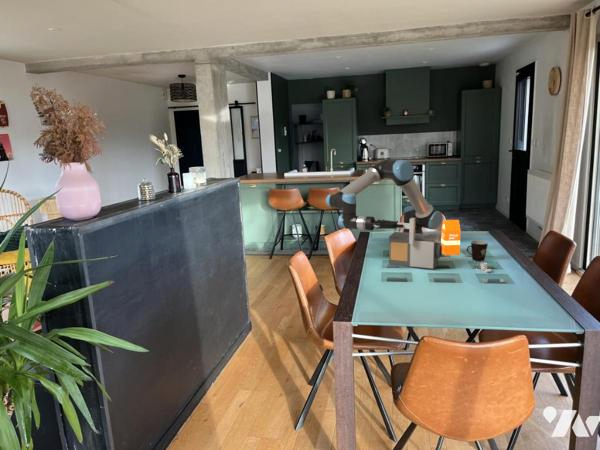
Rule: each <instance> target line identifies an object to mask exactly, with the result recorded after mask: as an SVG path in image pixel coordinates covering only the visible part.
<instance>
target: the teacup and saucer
mask: <svg viewBox="0 0 600 450" xmlns="http://www.w3.org/2000/svg"><path fill="white" fill-rule="evenodd" d="M477 268H478V267H477ZM477 268H475V271H477V272H479V271H478V270H479V269H478V270H477ZM480 268H481V271H482V270H483V271H482V272H484V273H492V272H493V269H491V268H489V269H487V268H488V263H487V262H485V261H481V262H480Z"/></svg>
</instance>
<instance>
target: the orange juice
mask: <svg viewBox="0 0 600 450" xmlns="http://www.w3.org/2000/svg"><path fill="white" fill-rule="evenodd" d="M441 225H442V226H441V236H440V237H441V238H440V243H441V244H442V255H444V256H459V255H460V247H461V232H462V231H461V225H460V220H459V219H444V220H443V221H442V224H441ZM456 254H457V255H456ZM458 254H459V255H458Z"/></svg>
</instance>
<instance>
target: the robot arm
mask: <svg viewBox="0 0 600 450" xmlns="http://www.w3.org/2000/svg"><path fill="white" fill-rule="evenodd" d="M414 169H415V168H414V166H413V164H412V163H411V162H410V161H408V160H407V159H406V160H405V159H393V158H392V159H391V158H387V159H383V160H380V161H379V162H376V163H375V164H373V165H372V166H370V167H369V168H368V170H367V171H366V172H365V173H363V174H362V175H361V176H359V177H358V178H356V179H355V180H353V181H351V182H350V183H349V184H347V185H346V186H345V187H343V188H341V189H340V190H339V191H337V192H336V193H331V194H328V195H327V196H326V198H325V203H326V206H328V207H329V208H332V209H338V210H342V214H340V215H339V216H338V220H337V224H338V227H339V228H340V229H346V230H360V231H365V230H366V231H371V232H372V231H374V229H376V230H377V229H383V230H384V229H388V230H391V229H392V230H397V229H402V232H406V233H409V228H410V219H411V218H415V233H420V234H423V233H424V231H423V228H425V229H429V230H436V229H438V228H439V227H440V226H441V225H442V223H443V213H442V212H441V211H439V210H436V209H435V208H434V206H433V205H432V204H430V203H428V201H427V199H426V198H425V196H424V194H423V193H422V192H421V190H420V188H419V187H418V185H417V183H416V181H415V180H414V173H415V171H414ZM385 179H387V180H392V181H393V183H394V184H395V185H396V186H397V187H400V189H401V191H402V192H403V193H404V195H405V196H406V198H407V199H408V201H409V203H410V204H411V205H409V206H408V205H407V206H405V207H404V208H403V209H404V210H403V222H399V220H396V221H395V220H387V219H377V220H375V216H370V215H369V216H368V215H366V216H365V215H357V195H358V194H360V193H362V191H364V190H366V189H367V188H368V187H370V186H371V185H372V184H374V183H377V182H378V183H379V182H380V181H382V180H385Z"/></svg>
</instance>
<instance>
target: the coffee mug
mask: <svg viewBox="0 0 600 450" xmlns="http://www.w3.org/2000/svg"><path fill="white" fill-rule="evenodd" d="M488 244H489V243H488V242H487V241H485V240H471V241H470V245H469V246H467V248H466V251H467V253H468V254H469V255H471V260H472V259H473V260H472V261H474V260H475V262H485V259H486V254H487V250H488ZM469 248H471V252H470V251H469Z"/></svg>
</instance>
